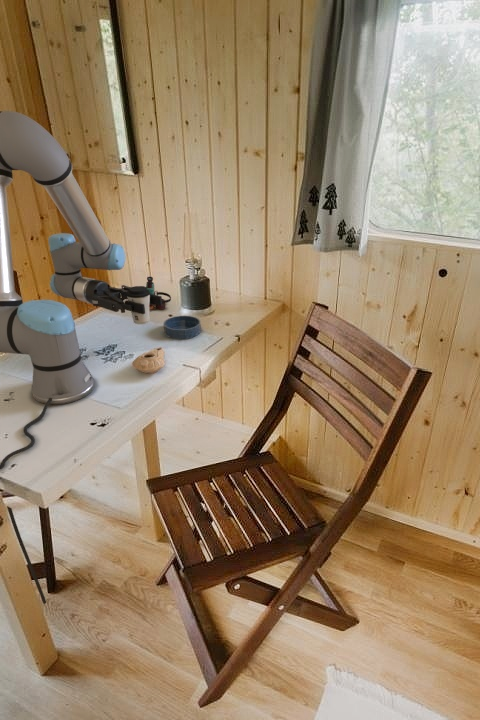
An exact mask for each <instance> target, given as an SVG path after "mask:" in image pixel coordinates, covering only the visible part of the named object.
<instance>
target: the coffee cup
mask: <svg viewBox="0 0 480 720" xmlns="http://www.w3.org/2000/svg"><path fill="white" fill-rule="evenodd" d="M130 287H131V288H129V290H128V291H127V292H126V296H127V298H128V301H132V302H136V303H141V304H144V307H145V314H140V313H136V312H132V311H130V314H131V317H132V320H133V324H135V325H146V324H148V323H150V320H151V319H150V313H151V312H150V291H149V290H148V289H147V288H146V285H145V286H144V285H134V286H130Z"/></svg>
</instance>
